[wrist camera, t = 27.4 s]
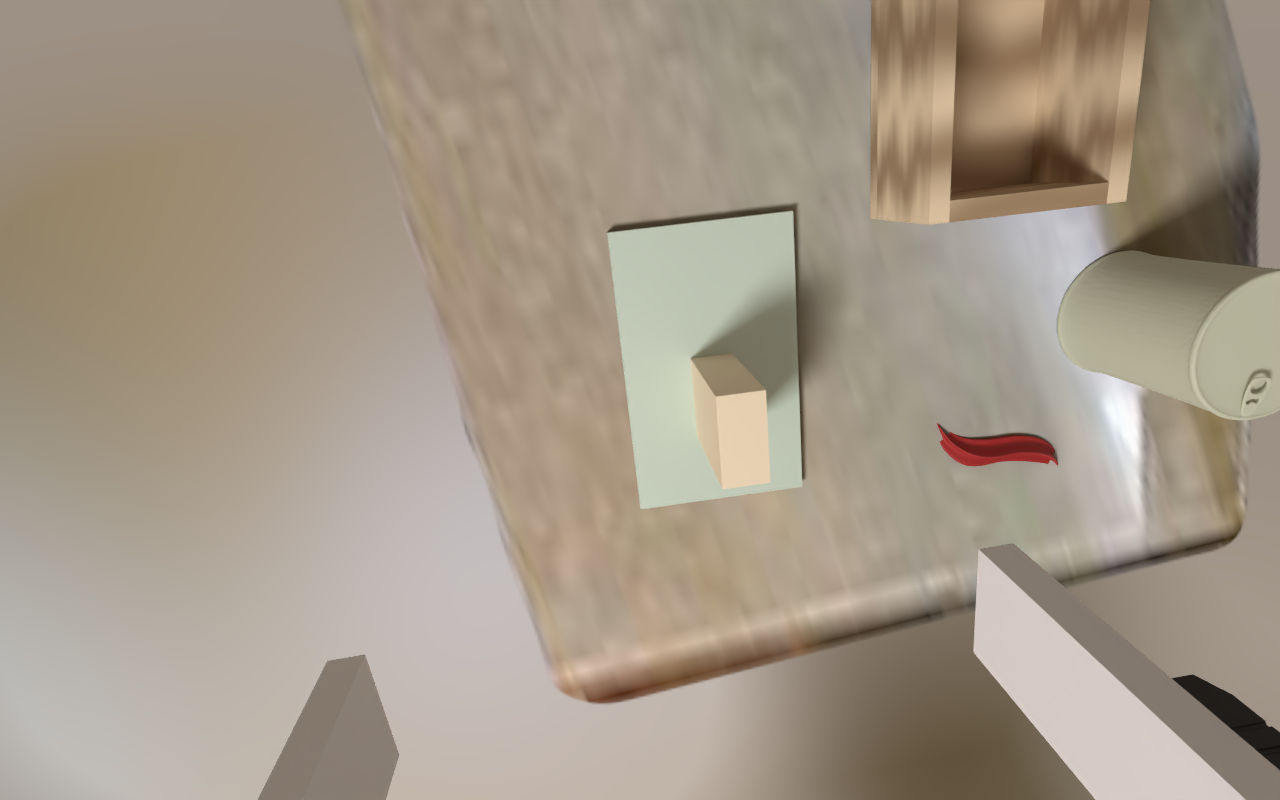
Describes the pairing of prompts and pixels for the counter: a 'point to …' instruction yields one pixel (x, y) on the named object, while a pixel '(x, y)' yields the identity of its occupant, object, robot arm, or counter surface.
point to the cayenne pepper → (997, 449)
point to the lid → (710, 356)
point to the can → (1179, 329)
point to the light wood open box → (1002, 105)
